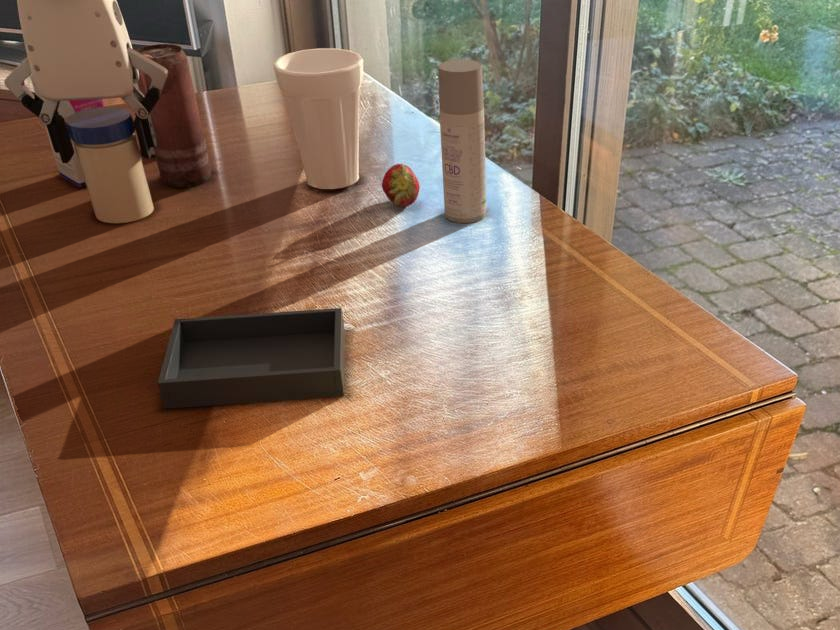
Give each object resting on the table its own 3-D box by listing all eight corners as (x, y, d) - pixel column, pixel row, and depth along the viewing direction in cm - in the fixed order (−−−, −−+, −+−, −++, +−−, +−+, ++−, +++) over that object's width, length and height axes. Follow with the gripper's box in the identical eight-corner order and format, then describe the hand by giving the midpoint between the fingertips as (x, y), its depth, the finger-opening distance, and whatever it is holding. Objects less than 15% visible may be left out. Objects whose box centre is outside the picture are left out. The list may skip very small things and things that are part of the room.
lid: (140, 121, 110) (136, 104, 109) (129, 143, 105) (124, 126, 104) (77, 124, 110) (72, 108, 108) (63, 146, 105) (58, 129, 104)
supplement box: (81, 189, 119) (49, 84, 110) (59, 176, 122) (26, 73, 114) (124, 176, 121) (96, 72, 113) (102, 163, 124) (73, 62, 116)
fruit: (417, 193, 115) (414, 148, 111) (423, 213, 111) (420, 167, 107) (381, 196, 115) (377, 151, 111) (386, 216, 110) (382, 170, 107)
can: (151, 186, 118) (117, 56, 109) (178, 167, 123) (148, 40, 113) (195, 191, 117) (165, 59, 107) (221, 172, 121) (194, 43, 111)
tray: (165, 409, 83) (157, 383, 81) (181, 344, 91) (174, 318, 89) (344, 396, 84) (340, 370, 82) (345, 332, 92) (341, 307, 90)
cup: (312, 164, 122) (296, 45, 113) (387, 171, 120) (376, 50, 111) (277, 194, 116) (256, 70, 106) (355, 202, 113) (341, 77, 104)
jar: (90, 225, 111) (63, 136, 104) (101, 202, 115) (75, 116, 109) (149, 221, 111) (126, 132, 104) (157, 199, 116) (135, 112, 109)
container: (441, 222, 109) (433, 72, 98) (448, 205, 112) (441, 58, 101) (483, 223, 108) (479, 72, 98) (489, 206, 111) (486, 58, 101)
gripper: (151, -43, 100) (191, 140, 112) (-23, -35, 99) (37, 149, 111) (140, -26, 94) (183, 164, 107) (-44, -17, 94) (21, 173, 106)
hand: (108, 155), depth 109 cm, fingers open, 8 cm apart
